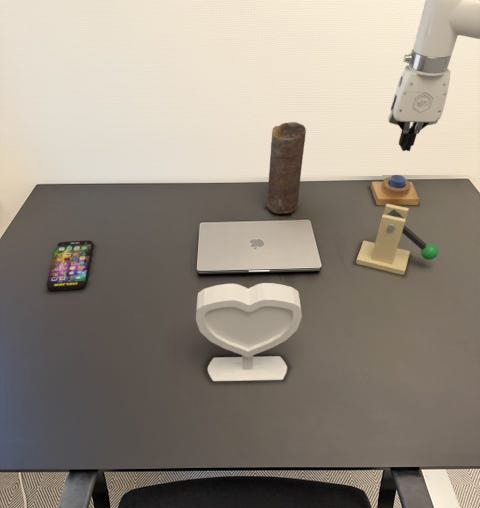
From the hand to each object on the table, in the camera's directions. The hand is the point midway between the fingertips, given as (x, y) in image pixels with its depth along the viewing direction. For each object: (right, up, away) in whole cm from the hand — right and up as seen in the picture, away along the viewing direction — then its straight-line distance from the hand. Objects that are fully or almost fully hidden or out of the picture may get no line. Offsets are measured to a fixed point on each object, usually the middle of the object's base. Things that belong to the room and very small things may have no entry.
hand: (404, 148), depth 108 cm
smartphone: (-73, -29, -9) cm, 79 cm away
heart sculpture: (-37, -48, -28) cm, 67 cm away
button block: (0, -9, +9) cm, 13 cm away
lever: (-4, -24, -13) cm, 27 cm away
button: (0, -7, +7) cm, 10 cm away
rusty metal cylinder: (-28, -13, +5) cm, 31 cm away
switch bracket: (-8, -27, -8) cm, 29 cm away
